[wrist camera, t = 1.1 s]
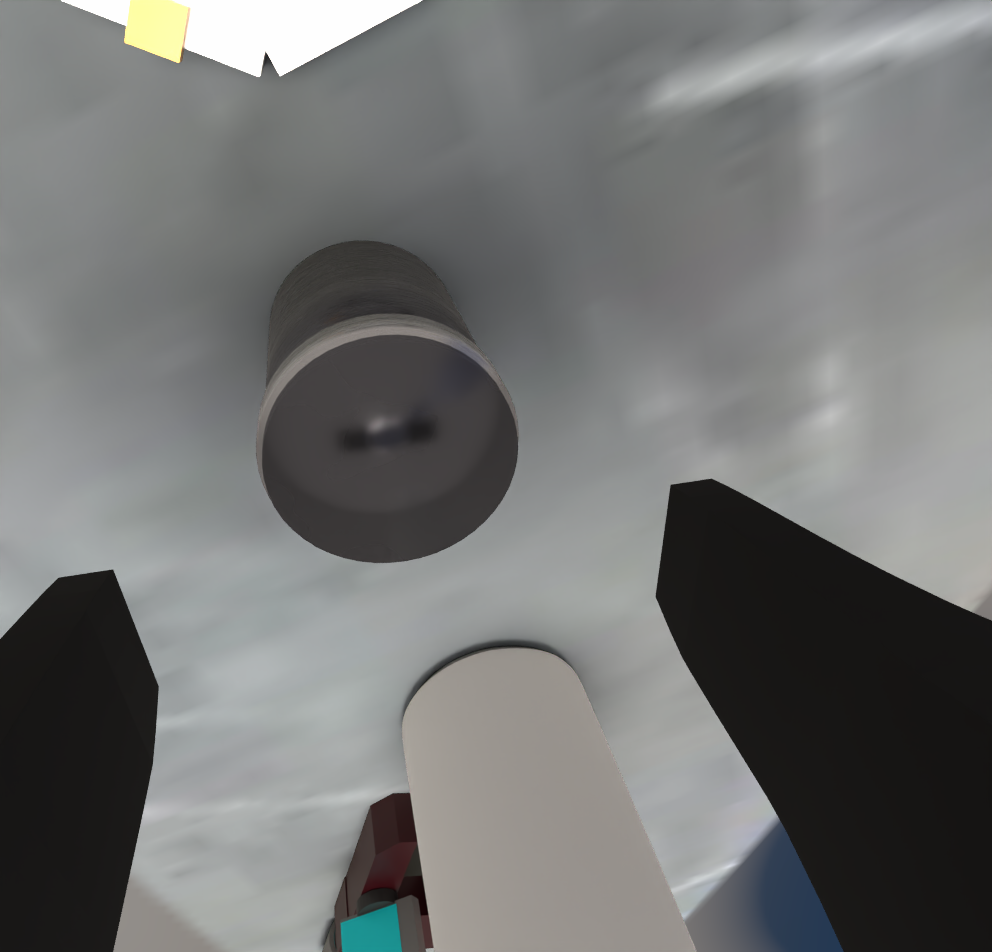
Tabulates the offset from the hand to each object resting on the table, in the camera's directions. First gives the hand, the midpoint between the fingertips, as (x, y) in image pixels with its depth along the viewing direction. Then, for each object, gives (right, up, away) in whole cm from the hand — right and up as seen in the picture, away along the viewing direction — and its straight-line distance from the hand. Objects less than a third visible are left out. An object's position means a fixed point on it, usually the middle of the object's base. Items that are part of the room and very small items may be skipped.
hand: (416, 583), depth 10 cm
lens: (-2, +5, +8) cm, 10 cm away
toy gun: (-1, -15, +22) cm, 26 cm away
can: (+1, -7, +16) cm, 17 cm away
